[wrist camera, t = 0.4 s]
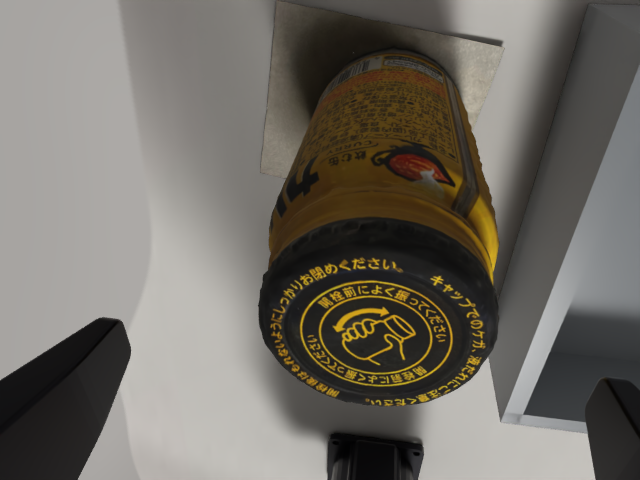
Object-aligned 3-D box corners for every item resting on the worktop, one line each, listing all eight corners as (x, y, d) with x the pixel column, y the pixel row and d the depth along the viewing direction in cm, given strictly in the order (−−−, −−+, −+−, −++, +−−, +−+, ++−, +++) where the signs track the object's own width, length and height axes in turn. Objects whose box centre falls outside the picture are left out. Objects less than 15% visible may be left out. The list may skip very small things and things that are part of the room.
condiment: (441, 210, 22) (470, 459, 12) (260, 170, 22) (148, 385, 12) (504, 45, 17) (628, 230, 8) (278, -3, 17) (124, 120, 8)
